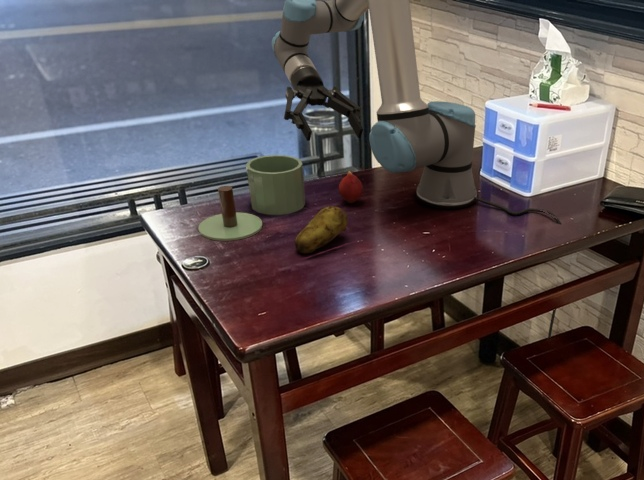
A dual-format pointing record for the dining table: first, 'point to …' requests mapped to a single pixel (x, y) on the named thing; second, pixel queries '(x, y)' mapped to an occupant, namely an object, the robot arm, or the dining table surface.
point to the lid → (229, 220)
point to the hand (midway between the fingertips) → (335, 135)
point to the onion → (350, 188)
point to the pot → (276, 184)
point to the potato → (321, 229)
